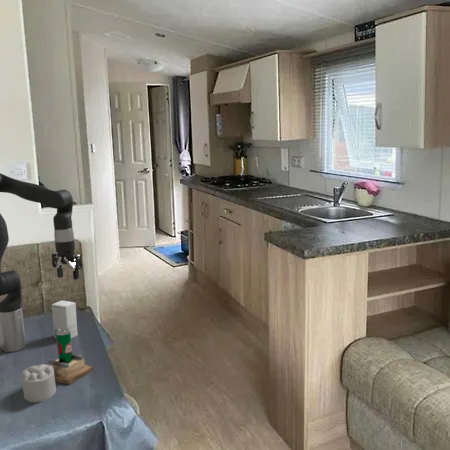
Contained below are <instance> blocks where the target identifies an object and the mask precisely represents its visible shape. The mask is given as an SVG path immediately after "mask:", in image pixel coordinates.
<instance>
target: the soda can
mask: <svg viewBox="0 0 450 450" xmlns="http://www.w3.org/2000/svg"><path fill="white" fill-rule="evenodd" d="M55 339H56V348H57V356H58V357H57V359H59V362H63V363H69V362H71V361H72V360H73V354H74V353H73V346H72V344H73V343H72V339H71V334H70V331H69V329H68V328H62V329H59V330H57V333H56V338H55Z"/></svg>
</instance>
